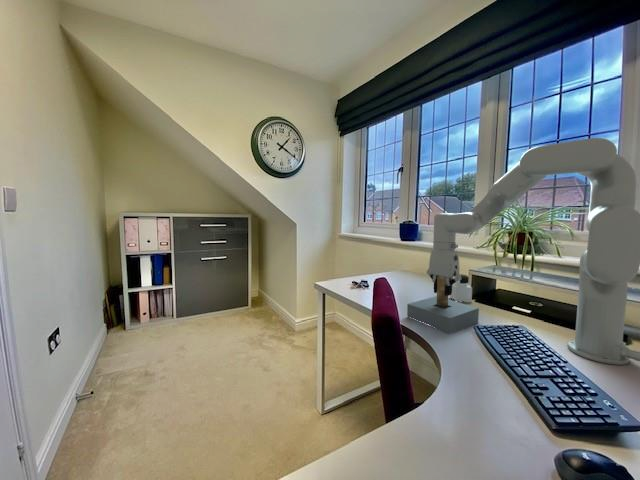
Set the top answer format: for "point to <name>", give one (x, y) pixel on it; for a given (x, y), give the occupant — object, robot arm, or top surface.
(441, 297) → the oak pin
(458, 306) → the hole block
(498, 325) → the top surface
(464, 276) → the medicine bottle
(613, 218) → the robot arm
